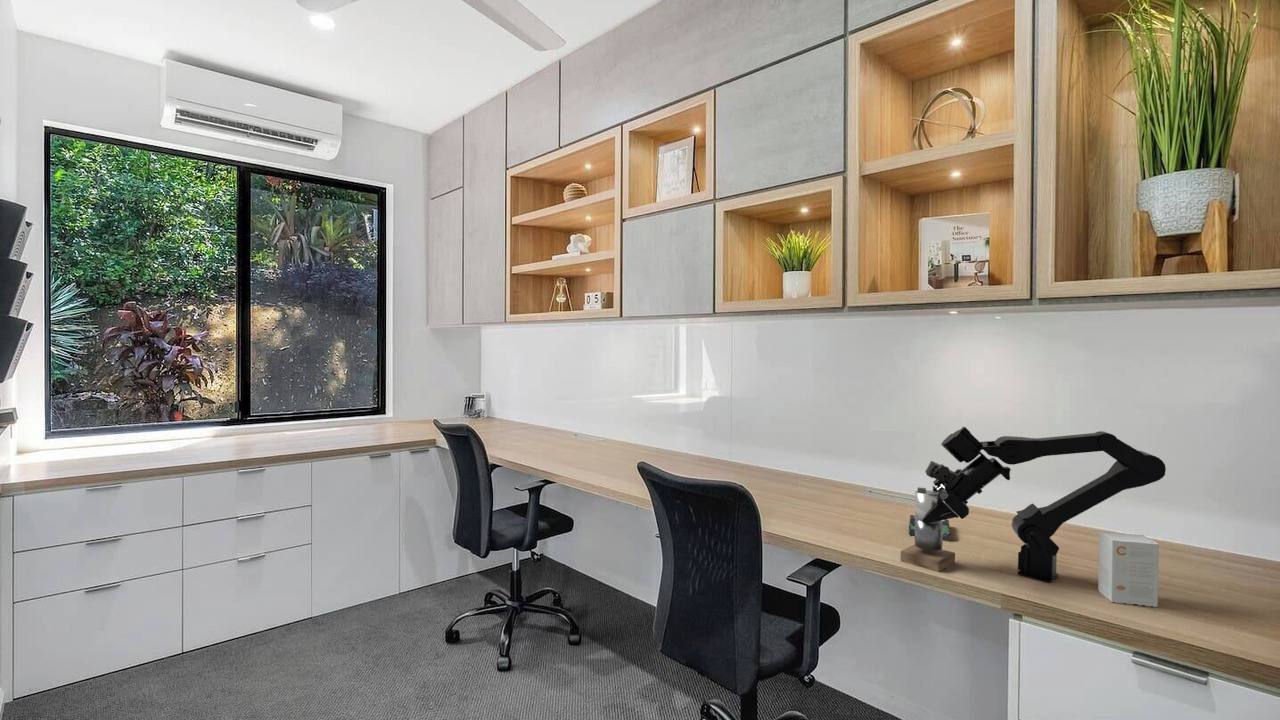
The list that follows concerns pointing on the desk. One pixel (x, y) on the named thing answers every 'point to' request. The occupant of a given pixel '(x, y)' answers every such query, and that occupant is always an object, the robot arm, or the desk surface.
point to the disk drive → (944, 530)
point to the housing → (931, 532)
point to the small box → (1128, 568)
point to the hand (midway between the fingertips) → (922, 518)
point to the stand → (928, 558)
